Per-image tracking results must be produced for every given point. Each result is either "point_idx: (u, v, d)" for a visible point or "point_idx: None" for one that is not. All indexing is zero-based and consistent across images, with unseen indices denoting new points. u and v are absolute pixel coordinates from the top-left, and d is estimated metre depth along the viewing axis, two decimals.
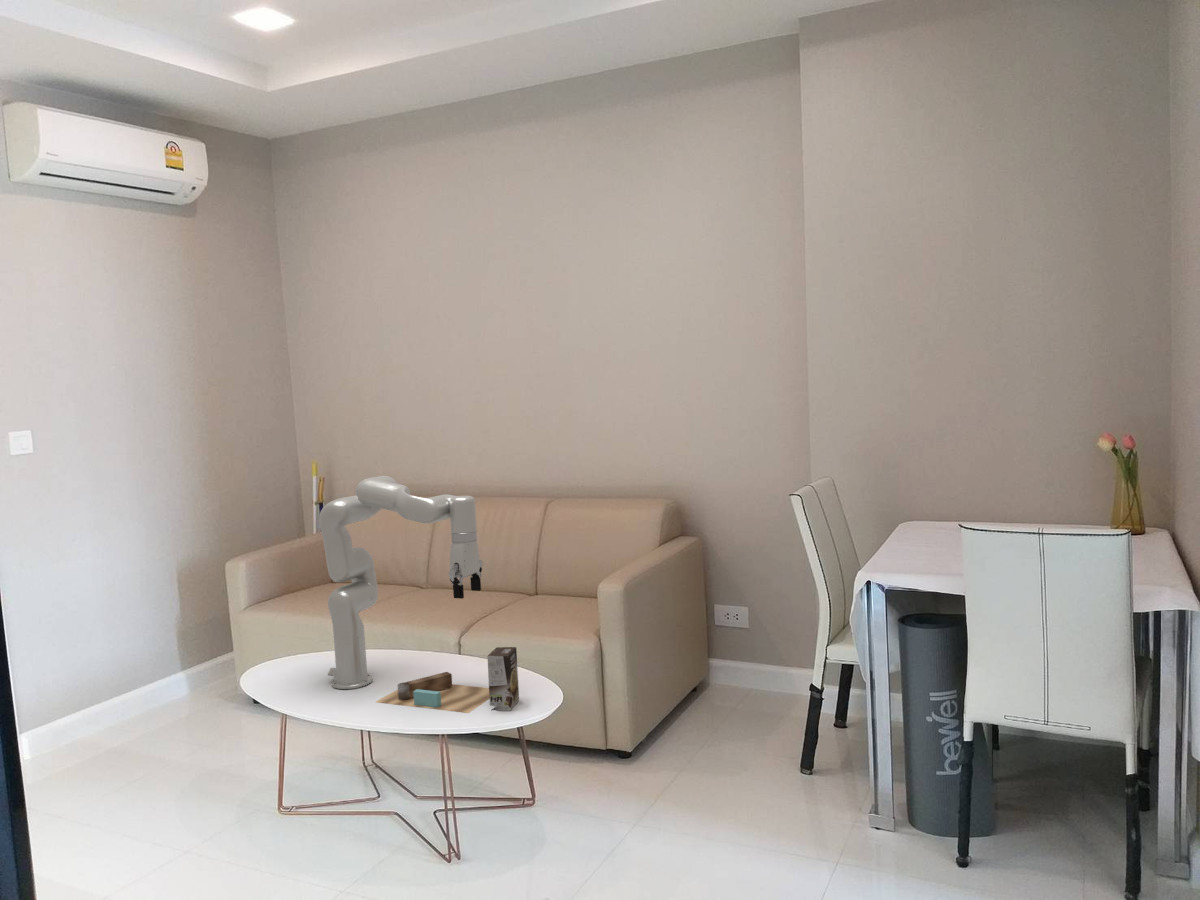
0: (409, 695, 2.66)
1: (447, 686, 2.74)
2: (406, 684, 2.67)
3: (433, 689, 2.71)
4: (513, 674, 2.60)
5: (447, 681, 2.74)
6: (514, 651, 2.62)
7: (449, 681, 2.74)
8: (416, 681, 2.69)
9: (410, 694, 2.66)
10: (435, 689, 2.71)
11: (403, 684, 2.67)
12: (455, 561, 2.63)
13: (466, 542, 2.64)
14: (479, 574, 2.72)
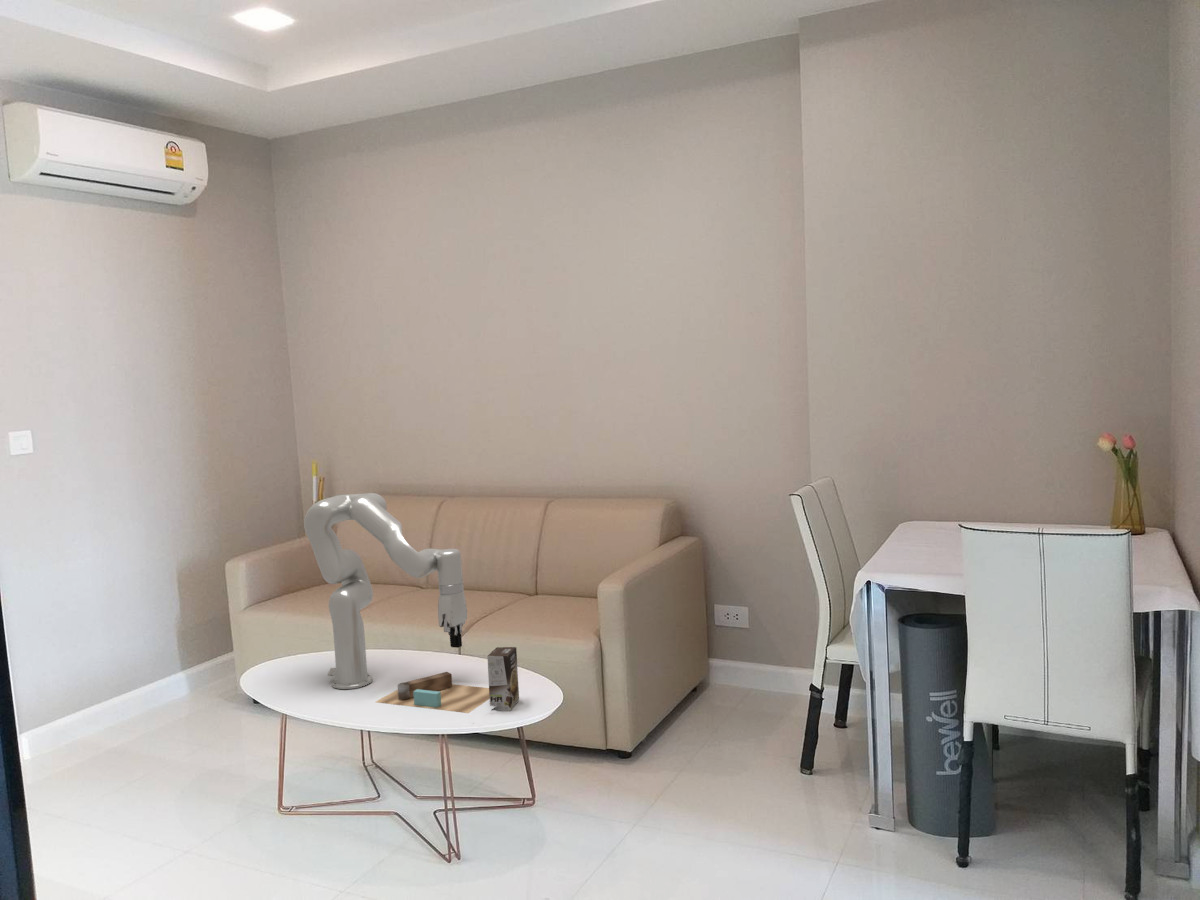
0: (409, 695, 2.66)
1: (447, 686, 2.74)
2: (406, 684, 2.67)
3: (433, 689, 2.71)
4: (513, 674, 2.60)
5: (447, 681, 2.74)
6: (514, 651, 2.62)
7: (449, 681, 2.74)
8: (416, 681, 2.69)
9: (410, 694, 2.66)
10: (435, 689, 2.71)
11: (403, 684, 2.67)
12: (443, 613, 2.76)
13: (453, 594, 2.76)
14: (460, 630, 2.81)
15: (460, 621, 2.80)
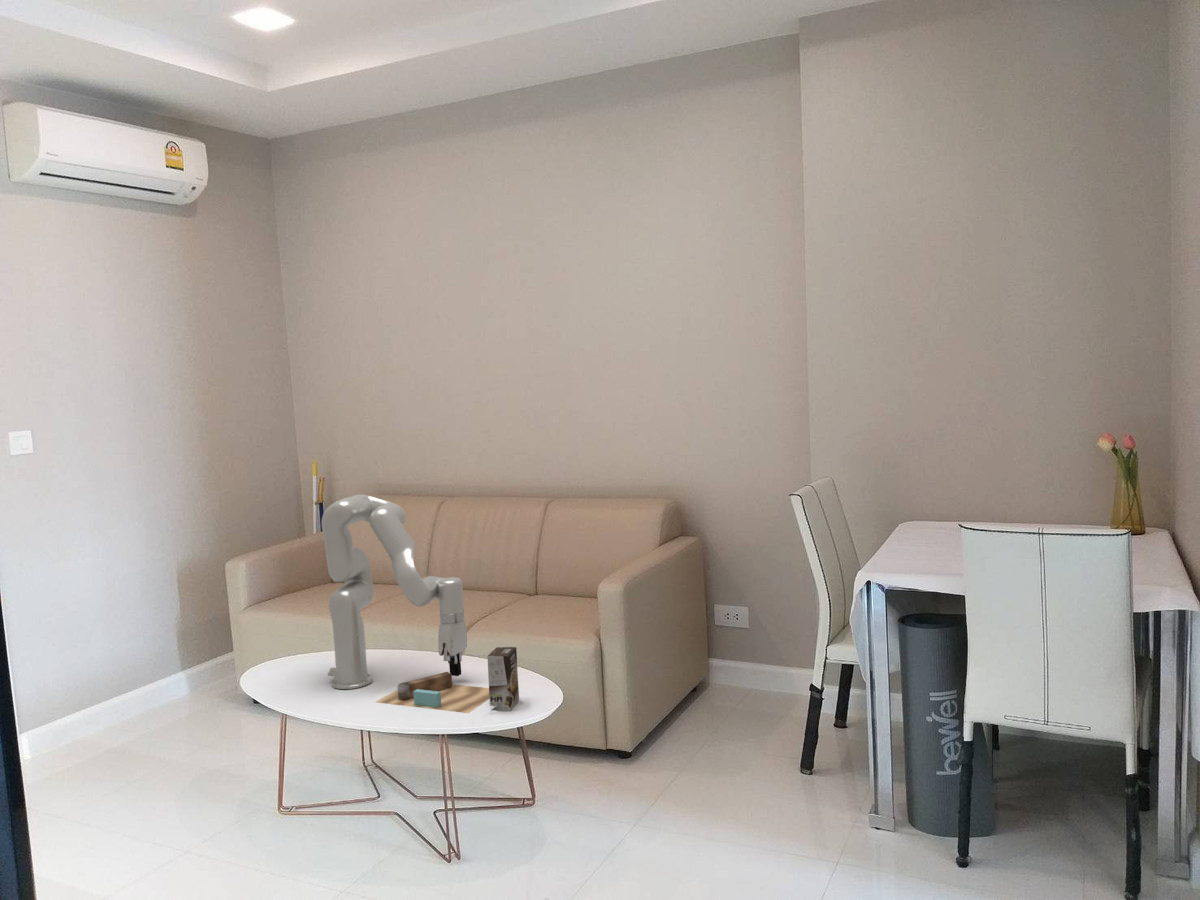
0: (409, 695, 2.66)
1: (447, 686, 2.74)
2: (406, 684, 2.67)
3: (433, 689, 2.71)
4: (513, 674, 2.60)
5: (447, 681, 2.74)
6: (514, 651, 2.62)
7: (449, 681, 2.74)
8: (416, 681, 2.69)
9: (410, 694, 2.66)
10: (435, 689, 2.71)
11: (403, 684, 2.67)
12: (444, 642, 2.76)
13: (454, 623, 2.77)
14: (460, 658, 2.82)
15: (460, 650, 2.81)
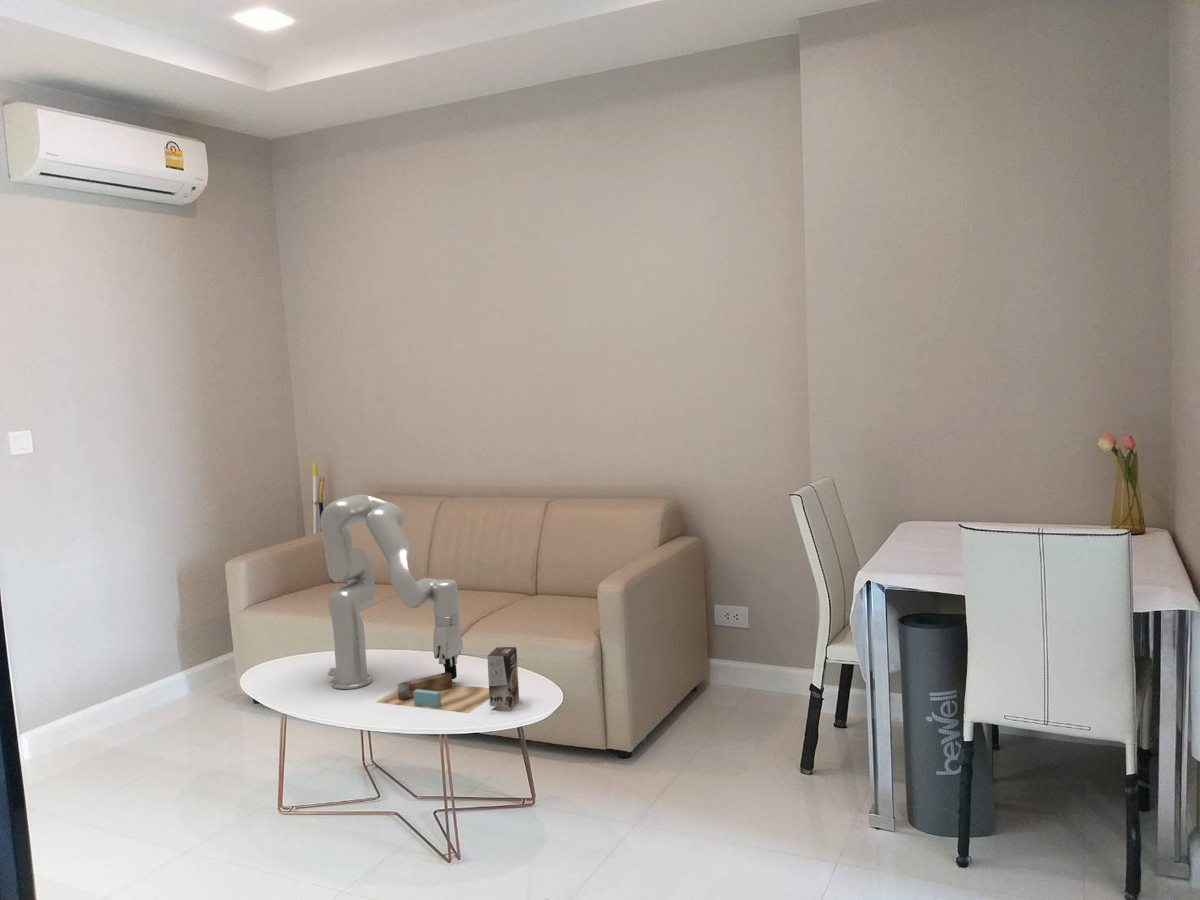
0: (409, 695, 2.66)
1: (447, 686, 2.74)
2: (406, 684, 2.67)
3: (433, 689, 2.71)
4: (513, 674, 2.60)
5: (447, 681, 2.74)
6: (514, 651, 2.62)
7: (449, 681, 2.74)
8: (416, 681, 2.69)
9: (410, 694, 2.66)
10: (435, 689, 2.71)
11: (403, 684, 2.67)
12: (439, 644, 2.73)
13: (449, 625, 2.74)
14: (455, 661, 2.79)
15: (455, 652, 2.78)
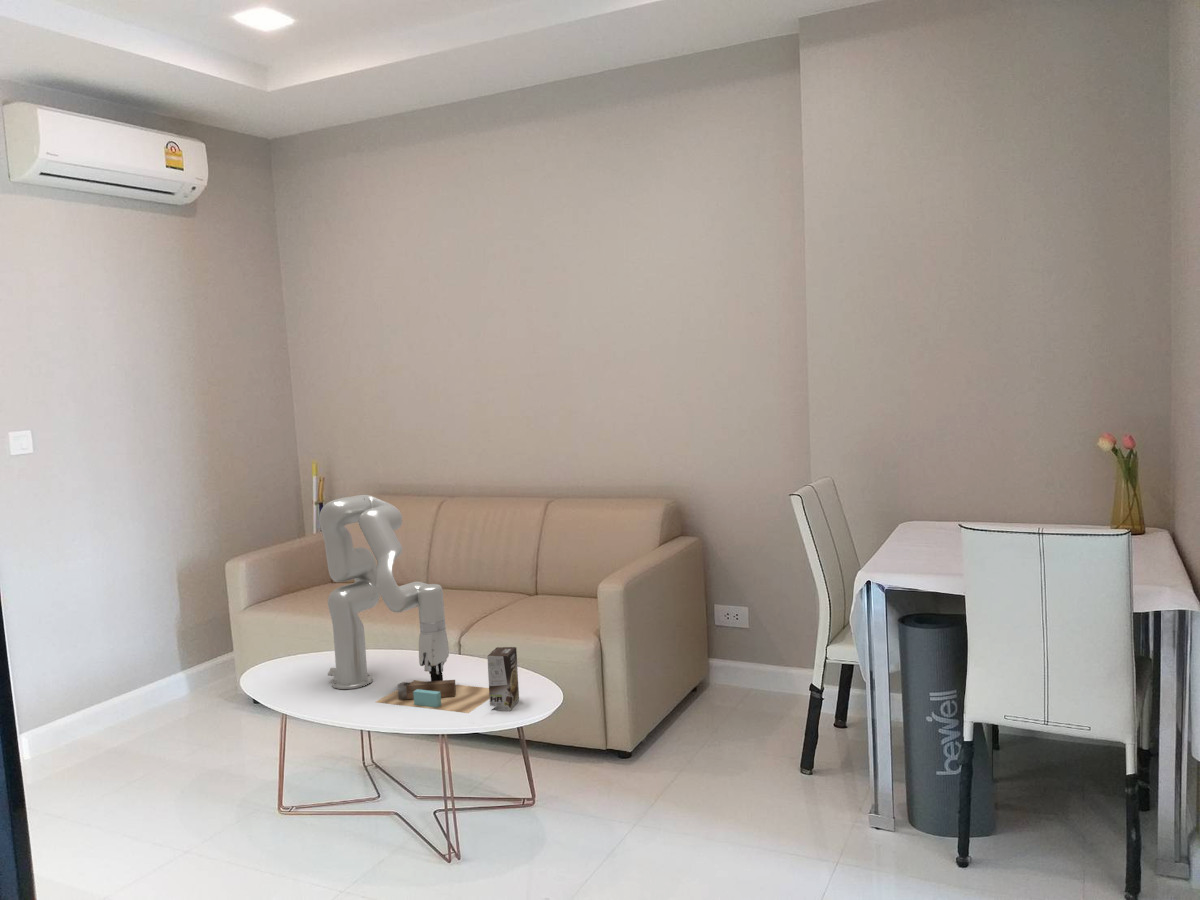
0: (406, 696, 2.65)
1: (449, 694, 2.66)
2: (405, 685, 2.66)
3: None
4: (513, 674, 2.60)
5: (449, 689, 2.66)
6: (514, 651, 2.62)
7: (451, 690, 2.66)
8: (417, 683, 2.67)
9: (407, 695, 2.65)
10: None
11: (403, 684, 2.67)
12: (424, 651, 2.65)
13: (434, 631, 2.66)
14: (441, 668, 2.71)
15: (441, 659, 2.70)
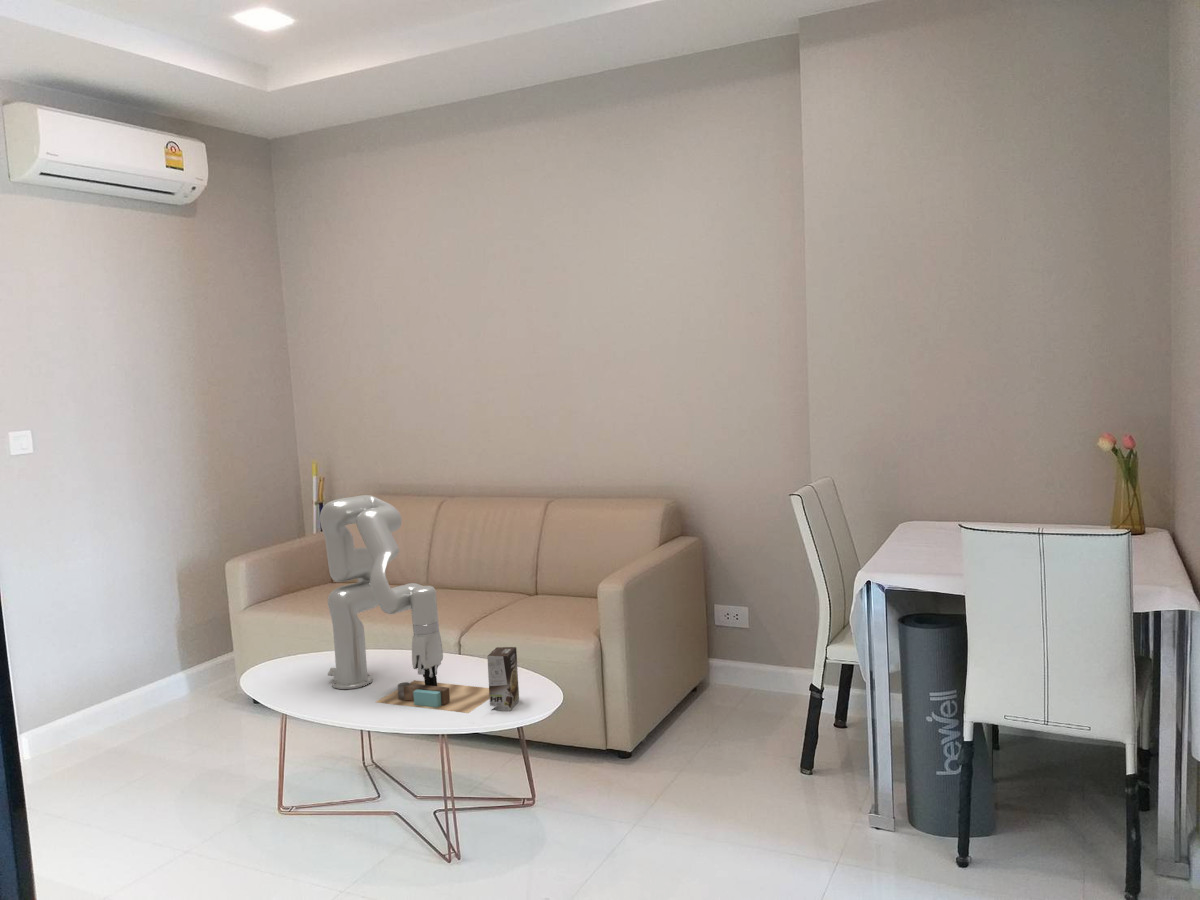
0: (404, 696, 2.65)
1: None
2: (404, 685, 2.66)
3: None
4: (513, 674, 2.60)
5: None
6: (514, 651, 2.62)
7: (441, 698, 2.60)
8: (414, 686, 2.65)
9: (404, 696, 2.65)
10: None
11: (403, 684, 2.67)
12: (417, 654, 2.62)
13: (428, 634, 2.62)
14: (435, 671, 2.67)
15: (435, 662, 2.66)
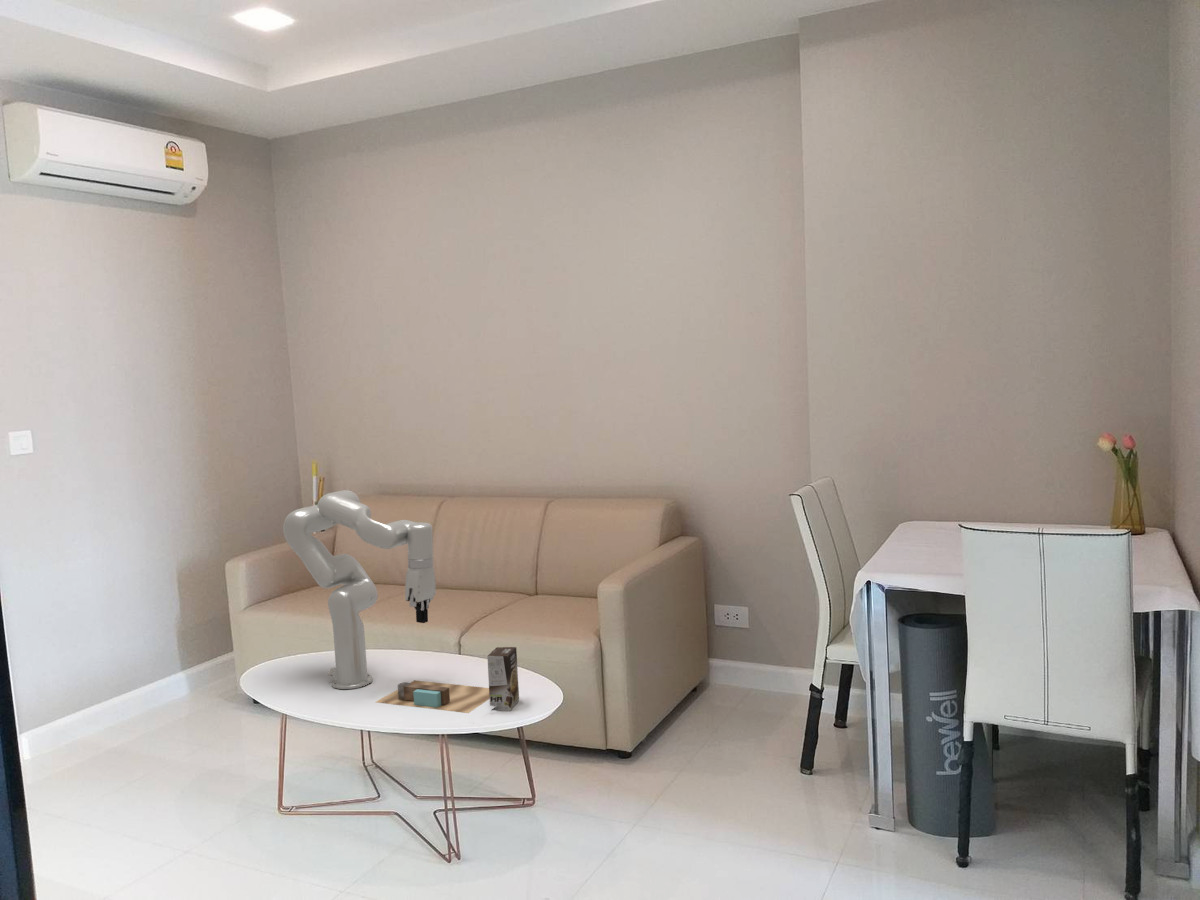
0: (404, 696, 2.65)
1: None
2: (404, 685, 2.66)
3: None
4: (513, 674, 2.60)
5: None
6: (514, 651, 2.62)
7: (441, 698, 2.60)
8: (414, 686, 2.65)
9: (404, 696, 2.65)
10: None
11: (403, 684, 2.67)
12: (410, 587, 2.71)
13: (421, 568, 2.71)
14: (427, 605, 2.76)
15: (427, 596, 2.75)
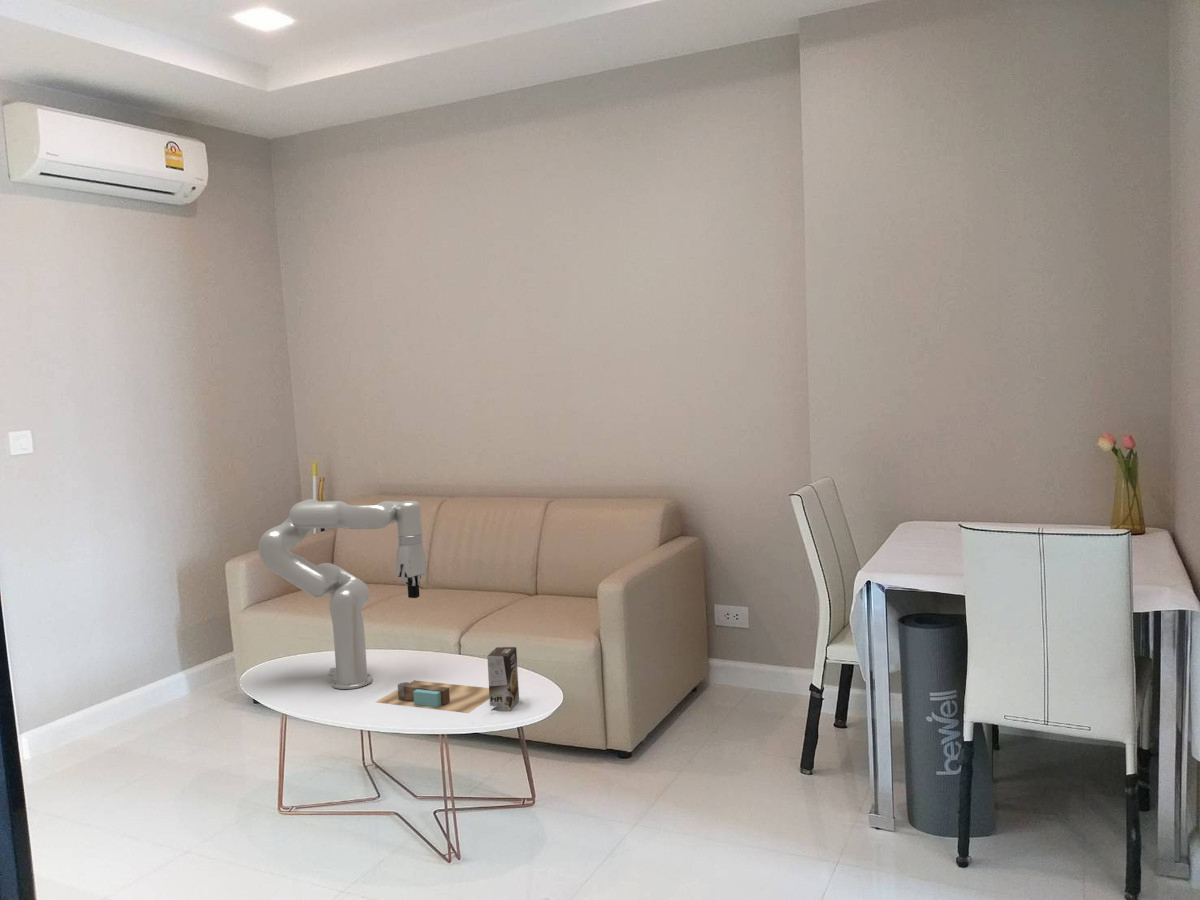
0: (404, 696, 2.65)
1: None
2: (404, 685, 2.66)
3: None
4: (513, 674, 2.60)
5: None
6: (514, 651, 2.62)
7: (441, 698, 2.60)
8: (414, 686, 2.65)
9: (404, 696, 2.65)
10: None
11: (403, 684, 2.67)
12: (401, 563, 2.80)
13: (411, 544, 2.81)
14: (418, 581, 2.86)
15: (418, 572, 2.85)
